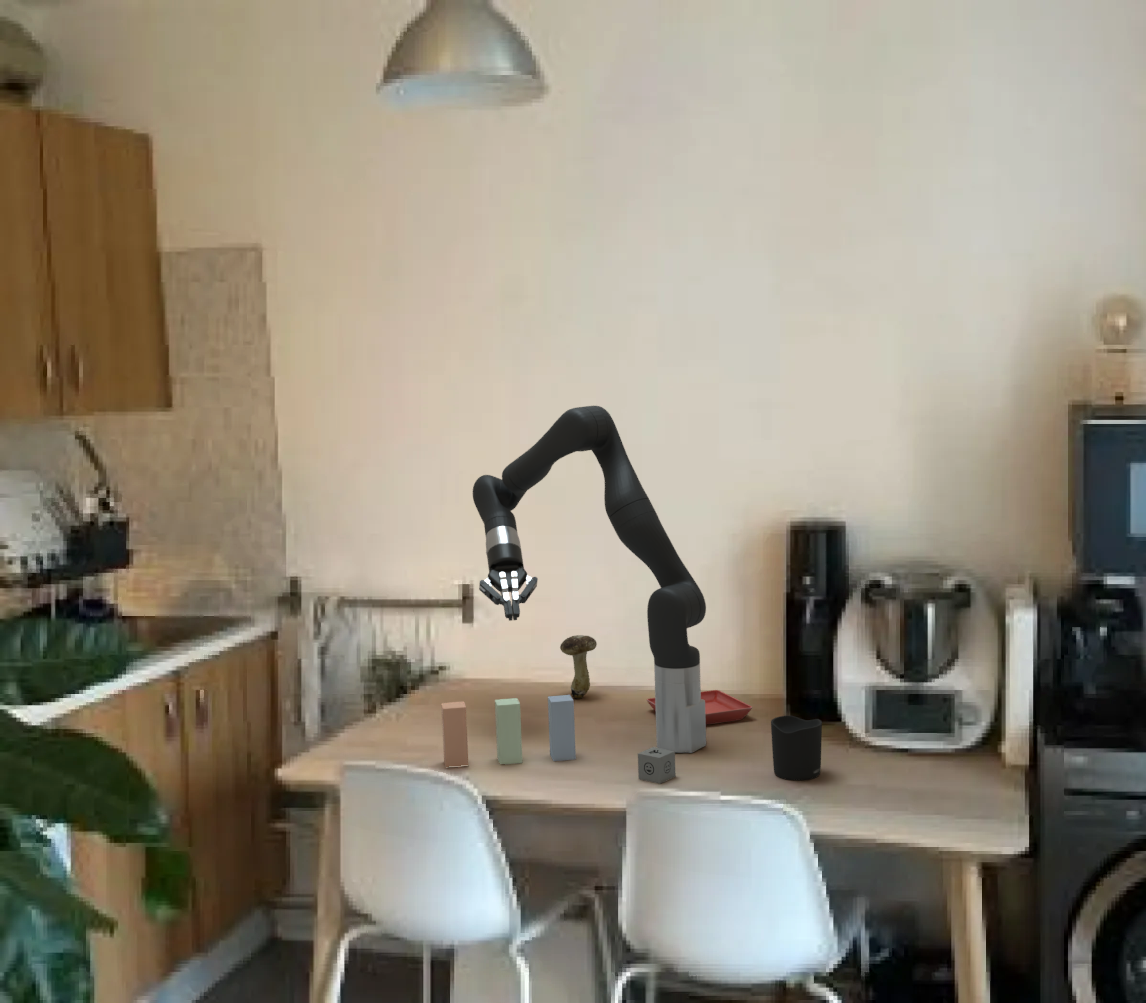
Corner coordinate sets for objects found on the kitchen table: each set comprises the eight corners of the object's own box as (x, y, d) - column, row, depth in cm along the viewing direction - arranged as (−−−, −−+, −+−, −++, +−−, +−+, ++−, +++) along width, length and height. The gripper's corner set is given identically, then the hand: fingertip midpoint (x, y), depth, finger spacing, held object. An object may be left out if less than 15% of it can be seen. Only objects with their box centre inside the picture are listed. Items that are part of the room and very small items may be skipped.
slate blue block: (572, 752, 259) (569, 694, 258) (575, 759, 254) (573, 700, 253) (550, 754, 258) (547, 696, 257) (553, 761, 254) (551, 702, 252)
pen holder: (785, 784, 235) (784, 731, 234) (763, 769, 244) (762, 718, 243) (831, 778, 238) (830, 725, 237) (808, 763, 247) (807, 712, 246)
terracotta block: (466, 759, 257) (463, 701, 255) (468, 766, 252) (465, 707, 251) (444, 761, 256) (441, 703, 255) (445, 768, 252) (442, 709, 250)
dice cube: (654, 772, 245) (653, 746, 244) (675, 777, 242) (674, 751, 241) (638, 779, 241) (637, 753, 241) (660, 784, 238) (659, 758, 237)
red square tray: (645, 712, 288) (645, 697, 288) (718, 702, 294) (717, 688, 294) (678, 732, 271) (677, 717, 271) (754, 722, 277) (754, 707, 277)
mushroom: (598, 702, 296) (596, 638, 295) (561, 703, 297) (558, 640, 295) (598, 692, 306) (596, 630, 304) (562, 693, 306) (560, 631, 304)
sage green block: (519, 756, 258) (517, 698, 257) (522, 763, 253) (520, 703, 252) (497, 758, 257) (494, 699, 256) (499, 765, 253) (497, 705, 251)
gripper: (473, 543, 274) (482, 610, 263) (535, 539, 276) (546, 606, 265) (472, 564, 279) (480, 630, 269) (533, 560, 282) (543, 626, 271)
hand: (513, 618), depth 267 cm, fingers closed
